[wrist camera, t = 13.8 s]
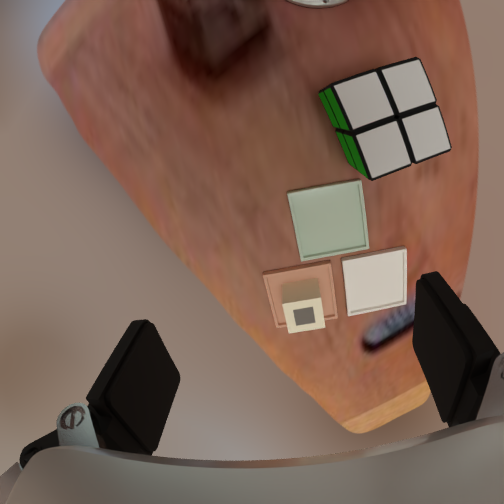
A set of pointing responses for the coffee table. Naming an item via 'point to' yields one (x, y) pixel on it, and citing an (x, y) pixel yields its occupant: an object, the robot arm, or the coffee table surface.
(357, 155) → the puzzle cube
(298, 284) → the cream cube
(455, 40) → the coffee table surface
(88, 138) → the coffee table surface
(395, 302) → the dish offwhite
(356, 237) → the dish sage
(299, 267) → the dish terracotta
